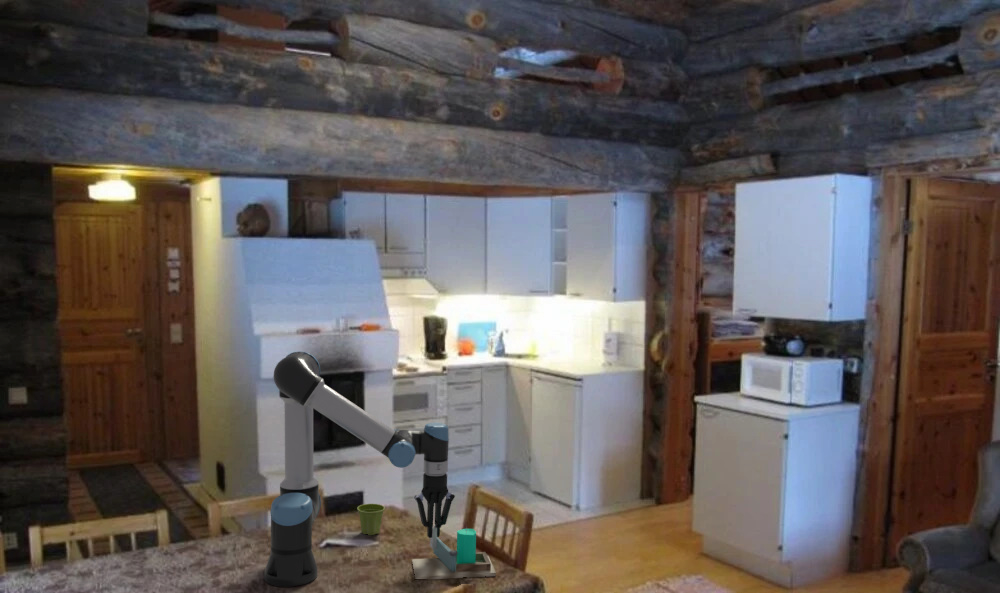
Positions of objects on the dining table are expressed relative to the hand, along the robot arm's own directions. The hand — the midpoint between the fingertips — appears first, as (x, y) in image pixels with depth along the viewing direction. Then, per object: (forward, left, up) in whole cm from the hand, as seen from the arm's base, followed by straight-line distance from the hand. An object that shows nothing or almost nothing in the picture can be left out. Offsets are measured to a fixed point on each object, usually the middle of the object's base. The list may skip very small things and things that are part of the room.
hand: (433, 547), depth 256 cm
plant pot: (-19, +27, -4) cm, 33 cm away
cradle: (+5, -9, -4) cm, 11 cm away
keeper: (+3, -6, -3) cm, 7 cm away
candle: (+9, -9, -3) cm, 13 cm away
